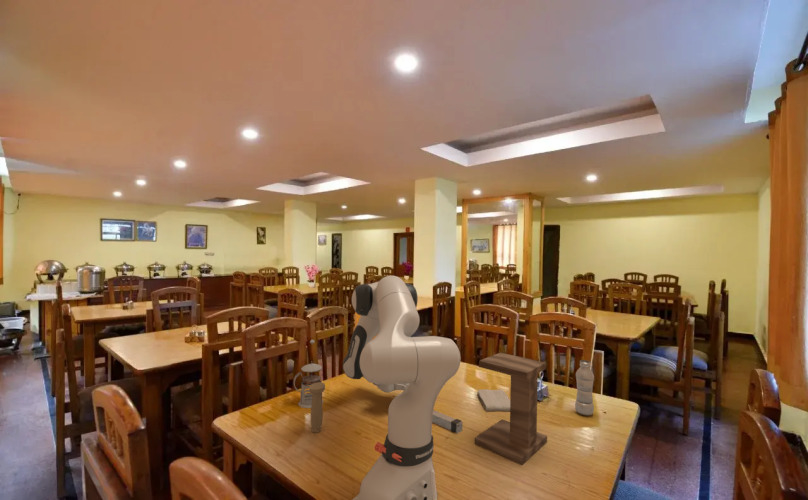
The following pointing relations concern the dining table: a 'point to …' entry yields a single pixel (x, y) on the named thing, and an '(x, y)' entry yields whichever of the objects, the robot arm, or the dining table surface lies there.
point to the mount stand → (515, 410)
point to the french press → (307, 398)
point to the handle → (316, 406)
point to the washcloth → (494, 400)
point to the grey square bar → (447, 422)
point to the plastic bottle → (584, 389)
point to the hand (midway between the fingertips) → (415, 385)
